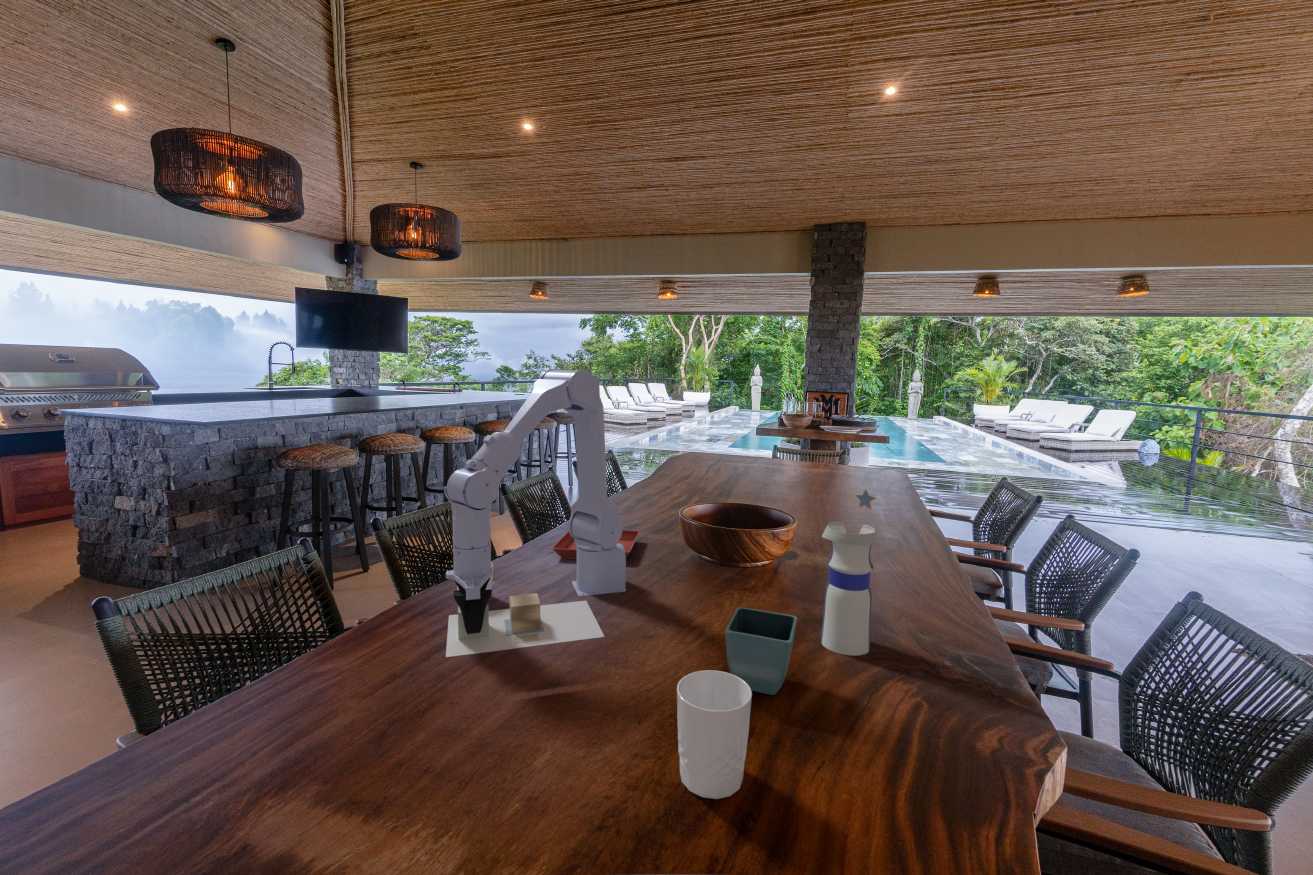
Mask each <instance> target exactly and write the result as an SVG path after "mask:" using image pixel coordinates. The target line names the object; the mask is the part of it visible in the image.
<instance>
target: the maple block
mask: <svg viewBox="0 0 1313 875" xmlns="http://www.w3.org/2000/svg"><path fill="white" fill-rule="evenodd" d="M540 605H541V601H540V598H539V594H538V593H537V592H535V593H527V594H524V593H523V594H517V595H515V594H514V595H509V609H510V626H511V632H512V633H515V632H523V631H531V630H540Z"/></svg>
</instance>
